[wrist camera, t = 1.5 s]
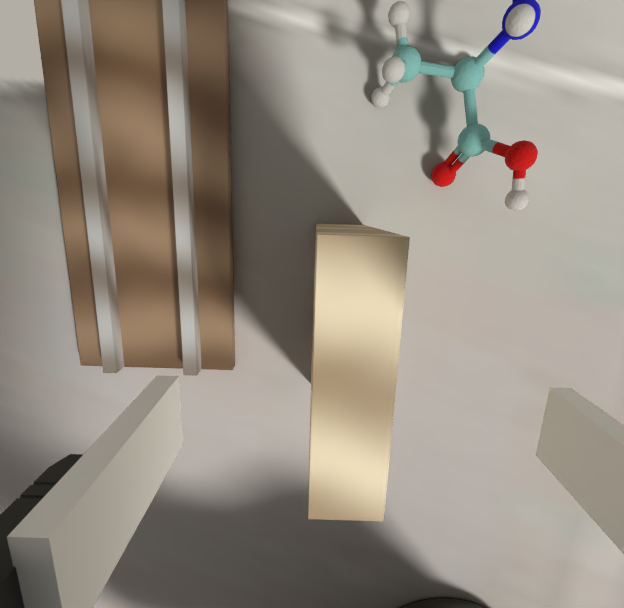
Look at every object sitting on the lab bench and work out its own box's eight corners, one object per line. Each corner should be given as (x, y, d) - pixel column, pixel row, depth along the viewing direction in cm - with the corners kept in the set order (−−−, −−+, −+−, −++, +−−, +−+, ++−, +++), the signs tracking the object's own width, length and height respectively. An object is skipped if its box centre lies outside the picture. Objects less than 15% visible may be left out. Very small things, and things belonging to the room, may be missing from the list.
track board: (235, 364, 30) (229, 376, 28) (88, 360, 30) (71, 371, 28) (227, -8, 24) (218, -30, 22) (42, -14, 24) (15, -36, 22)
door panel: (353, 384, 31) (383, 521, 17) (311, 383, 31) (308, 519, 17) (363, 224, 28) (409, 237, 14) (316, 223, 28) (317, 234, 14)
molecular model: (311, 137, 23) (444, 10, 14) (363, 30, 26) (501, -133, 17) (437, 238, 28) (596, 191, 19) (469, 139, 30) (621, 56, 22)
